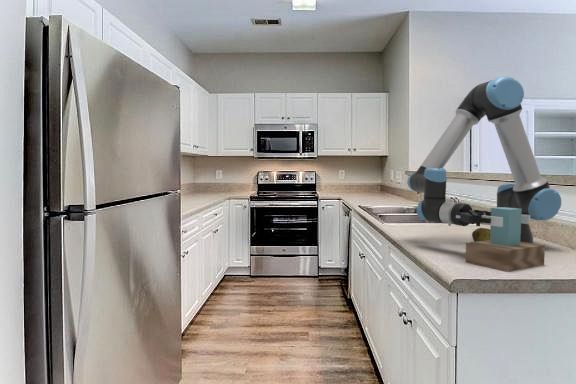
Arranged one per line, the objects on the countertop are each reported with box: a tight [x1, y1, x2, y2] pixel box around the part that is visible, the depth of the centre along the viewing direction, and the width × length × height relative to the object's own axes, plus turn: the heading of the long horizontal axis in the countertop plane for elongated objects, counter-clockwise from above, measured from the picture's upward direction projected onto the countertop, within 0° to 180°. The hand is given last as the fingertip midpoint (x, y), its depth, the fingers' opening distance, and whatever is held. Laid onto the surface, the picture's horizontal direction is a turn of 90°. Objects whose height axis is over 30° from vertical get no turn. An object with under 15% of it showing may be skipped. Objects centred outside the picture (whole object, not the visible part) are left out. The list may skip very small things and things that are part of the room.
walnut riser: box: [465, 240, 546, 272], centre depth 133 cm, size 18×14×6 cm
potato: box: [471, 227, 490, 242], centre depth 153 cm, size 8×13×8 cm, turn 52°
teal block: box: [489, 207, 522, 246], centre depth 132 cm, size 6×6×11 cm
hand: (516, 220), depth 129 cm, fingers open, 13 cm apart
